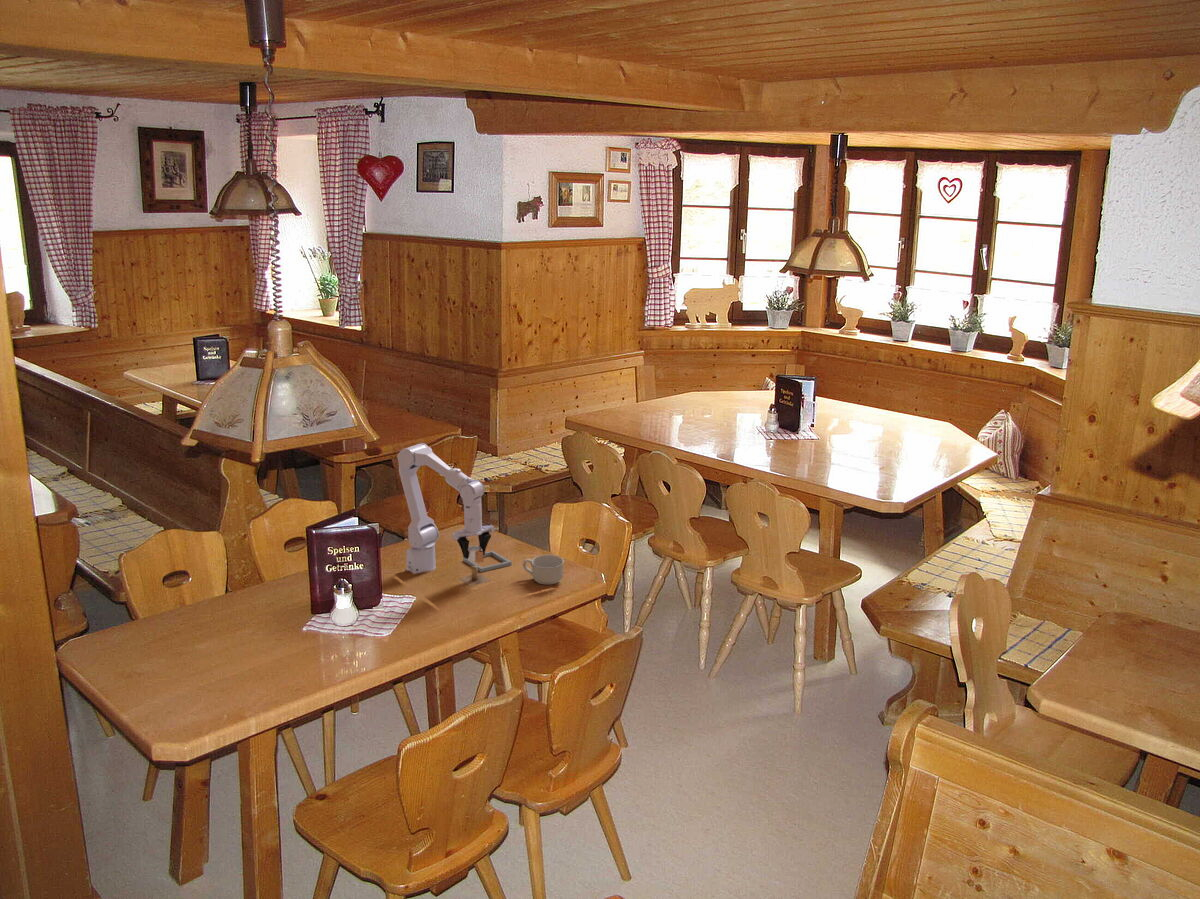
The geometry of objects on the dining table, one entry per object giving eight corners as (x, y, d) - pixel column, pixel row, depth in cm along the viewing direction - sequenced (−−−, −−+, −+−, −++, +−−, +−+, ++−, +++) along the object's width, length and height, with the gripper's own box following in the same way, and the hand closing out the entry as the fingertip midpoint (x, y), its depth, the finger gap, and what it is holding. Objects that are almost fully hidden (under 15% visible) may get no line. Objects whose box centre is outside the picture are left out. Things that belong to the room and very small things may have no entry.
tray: (481, 574, 337) (481, 568, 337) (463, 562, 347) (463, 557, 347) (511, 567, 344) (511, 561, 343) (493, 555, 354) (492, 550, 354)
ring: (473, 564, 324) (472, 554, 323) (462, 557, 329) (462, 547, 328) (488, 560, 327) (487, 550, 326) (477, 554, 332) (477, 544, 332)
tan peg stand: (469, 588, 325) (469, 573, 324) (458, 580, 332) (458, 565, 330) (491, 582, 330) (490, 568, 329) (479, 575, 336) (479, 560, 335)
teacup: (569, 579, 333) (569, 557, 331) (554, 591, 324) (554, 568, 322) (533, 572, 339) (532, 551, 337) (517, 583, 329) (517, 561, 327)
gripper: (459, 524, 318) (460, 564, 321) (498, 516, 326) (499, 555, 329) (448, 518, 323) (450, 557, 327) (487, 510, 332) (488, 548, 335)
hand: (474, 555), depth 329 cm, fingers closed on ring, 6 cm apart
